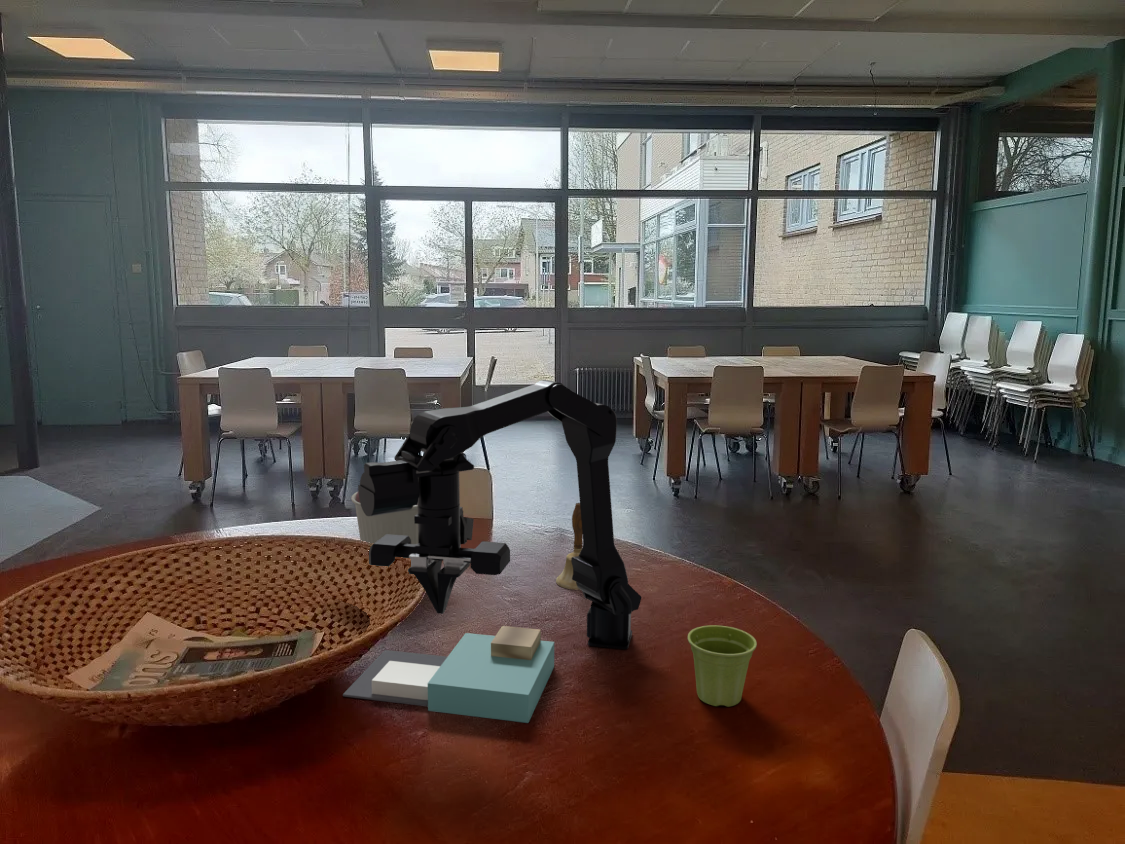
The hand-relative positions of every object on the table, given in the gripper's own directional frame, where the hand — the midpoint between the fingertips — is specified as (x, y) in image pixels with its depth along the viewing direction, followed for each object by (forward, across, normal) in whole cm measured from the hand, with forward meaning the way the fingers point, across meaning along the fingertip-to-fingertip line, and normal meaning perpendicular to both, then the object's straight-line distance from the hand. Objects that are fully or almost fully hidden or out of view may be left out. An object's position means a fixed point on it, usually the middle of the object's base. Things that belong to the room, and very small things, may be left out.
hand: (441, 612), depth 109 cm
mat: (+12, +7, -3) cm, 14 cm away
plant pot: (+12, -38, -7) cm, 41 cm away
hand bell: (+12, -11, -46) cm, 48 cm away
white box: (+12, +5, 0) cm, 12 cm away
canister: (+12, +24, -42) cm, 50 cm away
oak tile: (+8, -9, -7) cm, 14 cm away
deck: (+12, -7, -3) cm, 14 cm away
